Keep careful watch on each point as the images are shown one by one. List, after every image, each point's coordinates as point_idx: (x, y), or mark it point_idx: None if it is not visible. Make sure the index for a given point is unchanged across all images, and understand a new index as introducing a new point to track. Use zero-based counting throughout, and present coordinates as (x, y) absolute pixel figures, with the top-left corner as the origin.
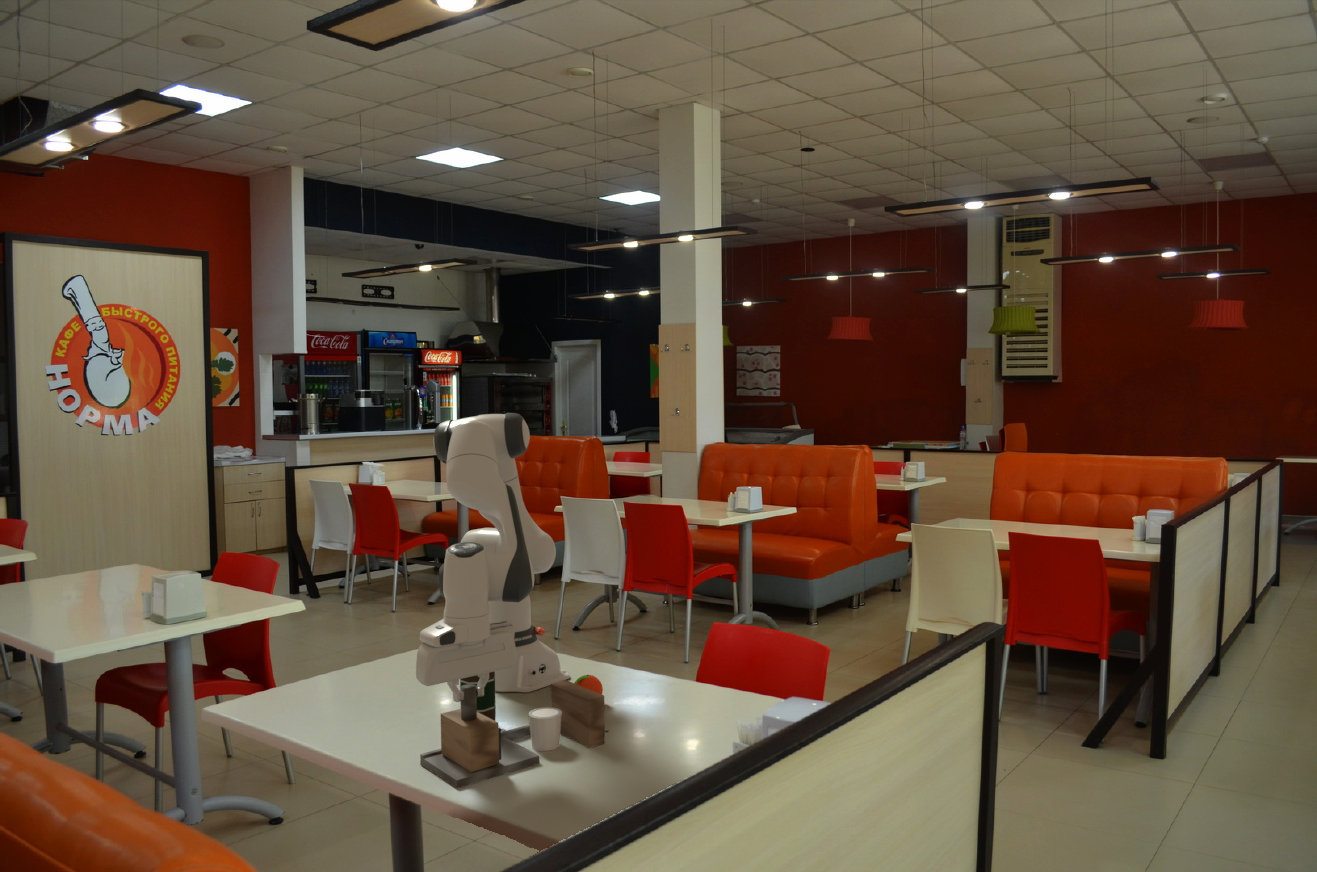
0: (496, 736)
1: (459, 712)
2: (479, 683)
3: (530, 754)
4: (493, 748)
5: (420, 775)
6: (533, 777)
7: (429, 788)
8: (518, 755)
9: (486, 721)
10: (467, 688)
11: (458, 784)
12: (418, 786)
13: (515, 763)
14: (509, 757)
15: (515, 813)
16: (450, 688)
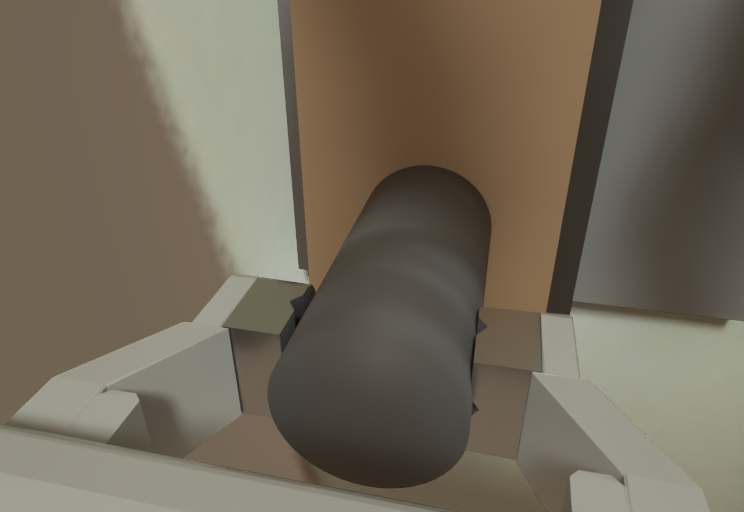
0: None
1: (444, 36)
2: (550, 435)
3: (735, 283)
4: None
5: (234, 17)
6: (594, 378)
7: (223, 176)
8: (683, 249)
9: None
10: (320, 453)
11: None
12: (191, 126)
13: (600, 301)
14: (630, 237)
15: (370, 493)
16: (136, 347)
